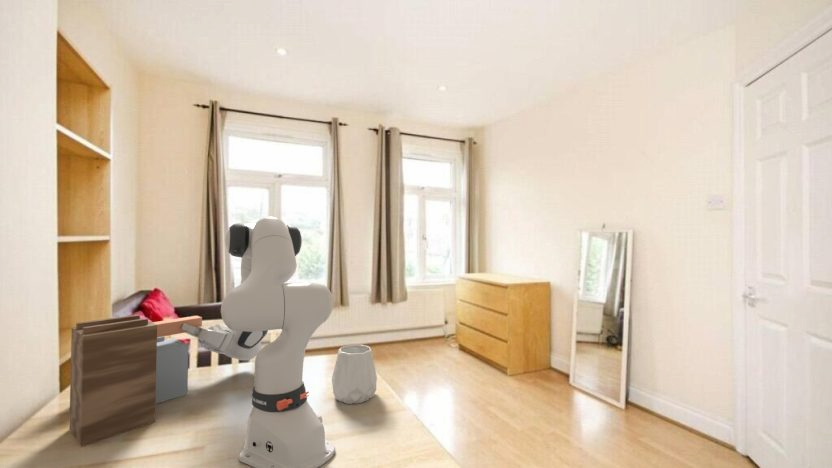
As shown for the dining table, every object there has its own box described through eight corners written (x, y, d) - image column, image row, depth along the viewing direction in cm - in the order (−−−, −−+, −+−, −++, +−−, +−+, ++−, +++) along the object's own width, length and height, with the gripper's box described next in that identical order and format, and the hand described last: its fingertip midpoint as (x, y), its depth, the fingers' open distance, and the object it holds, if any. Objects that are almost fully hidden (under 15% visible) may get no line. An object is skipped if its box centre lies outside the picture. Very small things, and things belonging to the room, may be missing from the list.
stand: (155, 421, 99) (157, 319, 99) (80, 446, 87) (83, 330, 87) (139, 408, 107) (141, 312, 107) (69, 429, 95) (71, 321, 95)
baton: (201, 329, 123) (202, 317, 123) (119, 344, 106) (120, 330, 106) (196, 327, 126) (196, 315, 126) (115, 341, 108) (115, 327, 108)
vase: (331, 408, 109) (332, 357, 109) (331, 389, 123) (332, 343, 123) (379, 404, 112) (380, 354, 112) (373, 386, 126) (374, 341, 126)
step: (187, 394, 117) (188, 341, 117) (145, 406, 108) (147, 349, 108) (172, 384, 124) (173, 334, 124) (132, 395, 115) (133, 341, 115)
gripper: (207, 324, 137) (171, 310, 127) (235, 334, 124) (197, 320, 115) (198, 341, 134) (160, 328, 125) (225, 353, 122) (185, 340, 112)
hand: (178, 324), depth 120 cm, fingers closed on baton, 4 cm apart
